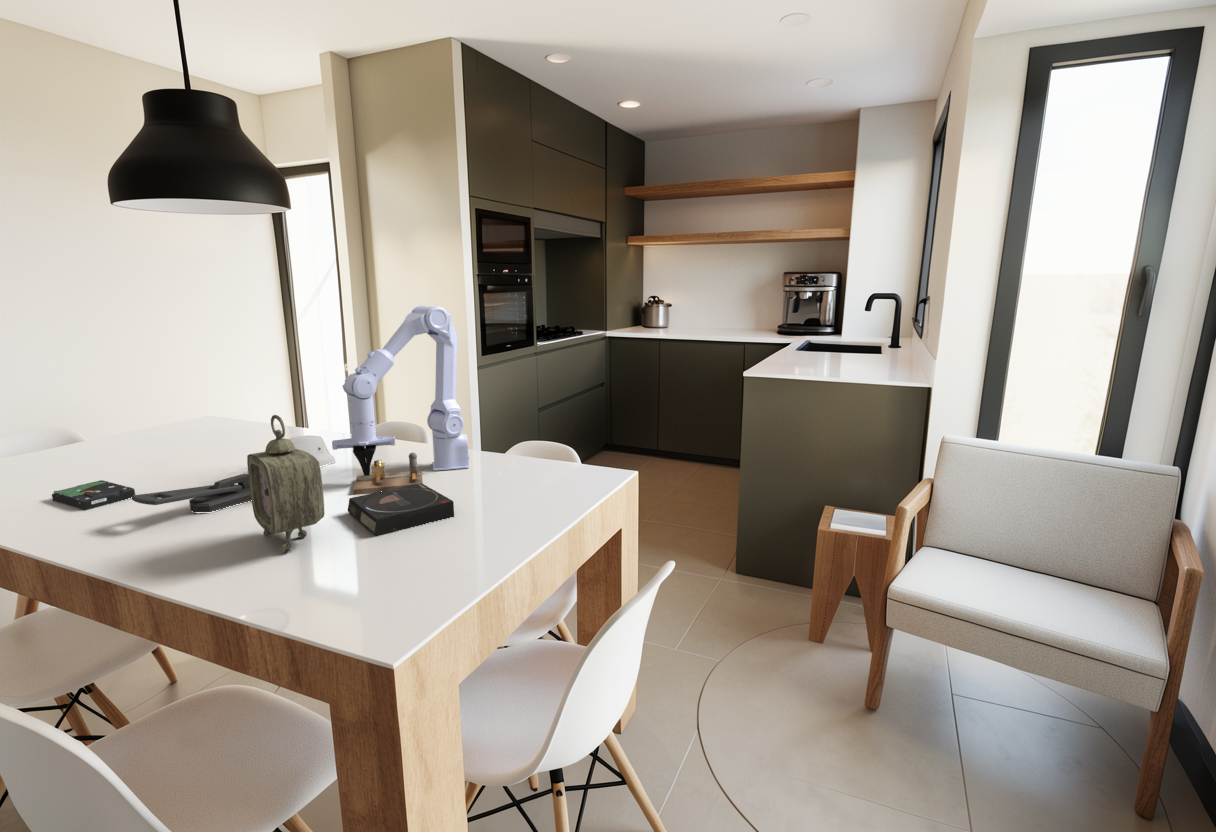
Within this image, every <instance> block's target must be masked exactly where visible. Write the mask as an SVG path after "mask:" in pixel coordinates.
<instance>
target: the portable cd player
mask: <svg viewBox="0 0 1216 832" xmlns="http://www.w3.org/2000/svg"><path fill="white" fill-rule="evenodd" d="M347 506H348V507H347V512H348V513H349V515H350V516H352V517H353V518H354V519H356V521H358V522H359V523H360V524H361V525H363V526H364V527H365V528H366V529H367V530H369V531H370V532H371V533H372V534H373V535H374V536H376V537H380V536H384V535H387V534H392V533H396V532H400V531H403V529H404V530H408V529H412V528H416V527H420V526H423V524H424V525H427V524H426V523H428V524H430V523H429V522H432V523H435V522H434V521H436V522H439V521H438V520H440V521H443V520H442V519H444V520H447V518H448V519H451V518H450V517H452V518H455V507H454V506H455V505H454V500H452V499H450V498H448V497H447V496H445V495H443V494H441V493H440V492H438V491H437V490H434V489H432V488H431V487H429V486H427V485H426V484H424V483H423V484H422V483H420V484H416V485H411V486H406V487H401V488H396V489H391V490H387V491H382V492H376V493H366V494H361V495H359V496H353V497H349V499H348V505H347ZM419 525H420V526H419ZM415 526H416V527H415ZM411 527H412V528H411ZM399 530H400V531H399Z"/></svg>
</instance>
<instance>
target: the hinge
mask: <svg viewBox="0 0 1216 832" xmlns="http://www.w3.org/2000/svg"><path fill="white" fill-rule="evenodd" d="M288 439H289V440H290V441H292V443H293V444H294V446H295V449H299V450H302V451H305V452H307V453H309V454H311V455H312V456H314V457H315V458H316V459H317V460H318V462H319V465H320V466H323V465H326V464H329V463H332V462H336V459H335V457H334V456H333V455H332V454H331V453H330V452H329V449H328V447H327V445H326V443H325V441H324V438H323V437H322V436H320V435H313V434H312V435H310V434H309V435H297V436H295V437H291V438H288ZM323 467H324V466H323Z"/></svg>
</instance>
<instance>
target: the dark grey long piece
mask: <svg viewBox="0 0 1216 832" xmlns="http://www.w3.org/2000/svg"><path fill="white" fill-rule="evenodd" d="M131 500H132V501H133V502H134V503H135V502H136V503H139V504H142V505H143V504H144V505H149V506H150V505H151V506H157V505H164V504H169V503H175V502H181V501H185V500H189V501H188V502H189V509H190V512H191V511H193V512H212V511H216V510H219V509H223V508H226V507H229V506H233V505H236V504H240V503H243V504H245V503H244V502H247V503H249V502H248V501H250V502H252V501H251V493H250V486H249V477H248V473H241V474H238V475H234V476H230V477H227V478H226V477H225V478H223V479H221V480H218V481H217V480H216V481H215V482H214V483H213V484H210V485H203V486H195V487H188V488H182V489H180V488H179V489H174V490H165V491H158V492H150V493H143V494H142V493H140V494H135V495H133V496H132V498H131ZM240 505H241V504H240ZM236 506H237V505H236ZM233 507H234V506H233ZM226 509H227V508H226ZM223 510H224V509H223ZM219 511H220V510H219ZM216 512H217V511H216Z"/></svg>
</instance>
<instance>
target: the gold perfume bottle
mask: <svg viewBox="0 0 1216 832" xmlns="http://www.w3.org/2000/svg"><path fill="white" fill-rule="evenodd" d="M370 470H371V474H372V479H373V478H376V482H380V478H385V473H386V464H385V462H382V460H381V459H376V460H374V461H373V463H371V466H370Z"/></svg>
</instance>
